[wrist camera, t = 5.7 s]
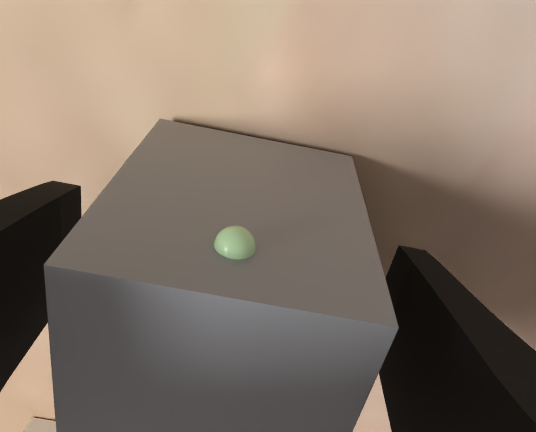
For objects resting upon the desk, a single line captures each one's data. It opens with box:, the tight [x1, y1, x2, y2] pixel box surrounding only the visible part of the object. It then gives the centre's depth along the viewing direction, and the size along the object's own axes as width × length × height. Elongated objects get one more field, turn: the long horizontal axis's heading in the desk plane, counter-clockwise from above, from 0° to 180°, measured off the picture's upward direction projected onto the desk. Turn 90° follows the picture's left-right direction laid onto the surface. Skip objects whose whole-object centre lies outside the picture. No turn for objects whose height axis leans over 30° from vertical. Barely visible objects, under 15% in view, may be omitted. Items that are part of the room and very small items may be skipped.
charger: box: [44, 119, 399, 432], centre depth 10 cm, size 4×7×6 cm, turn 169°
